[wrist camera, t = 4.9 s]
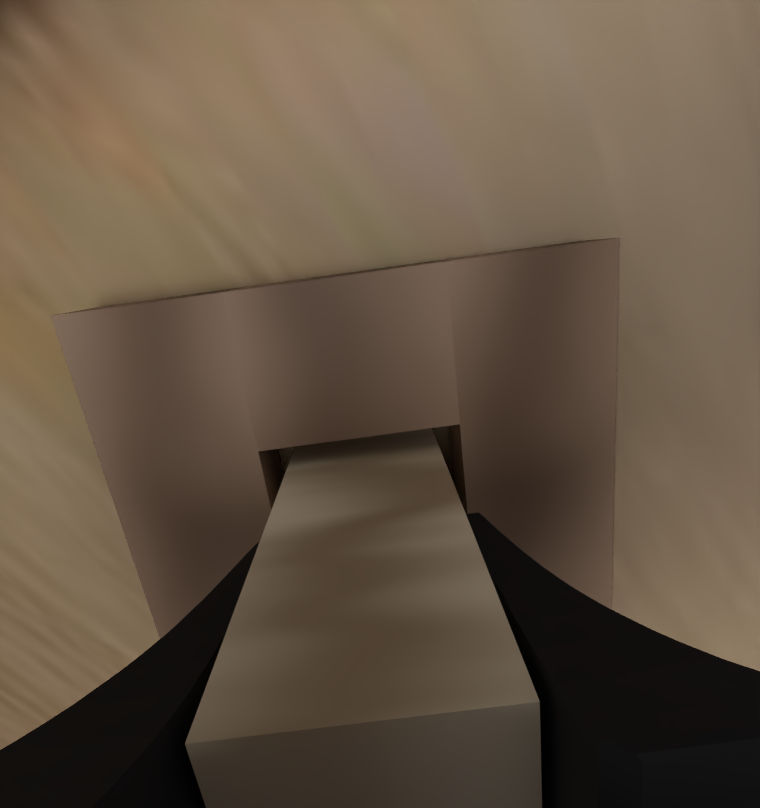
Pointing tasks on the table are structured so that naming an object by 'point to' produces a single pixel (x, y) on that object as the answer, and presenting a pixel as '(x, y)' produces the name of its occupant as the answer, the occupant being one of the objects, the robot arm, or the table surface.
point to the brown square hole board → (359, 403)
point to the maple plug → (368, 649)
